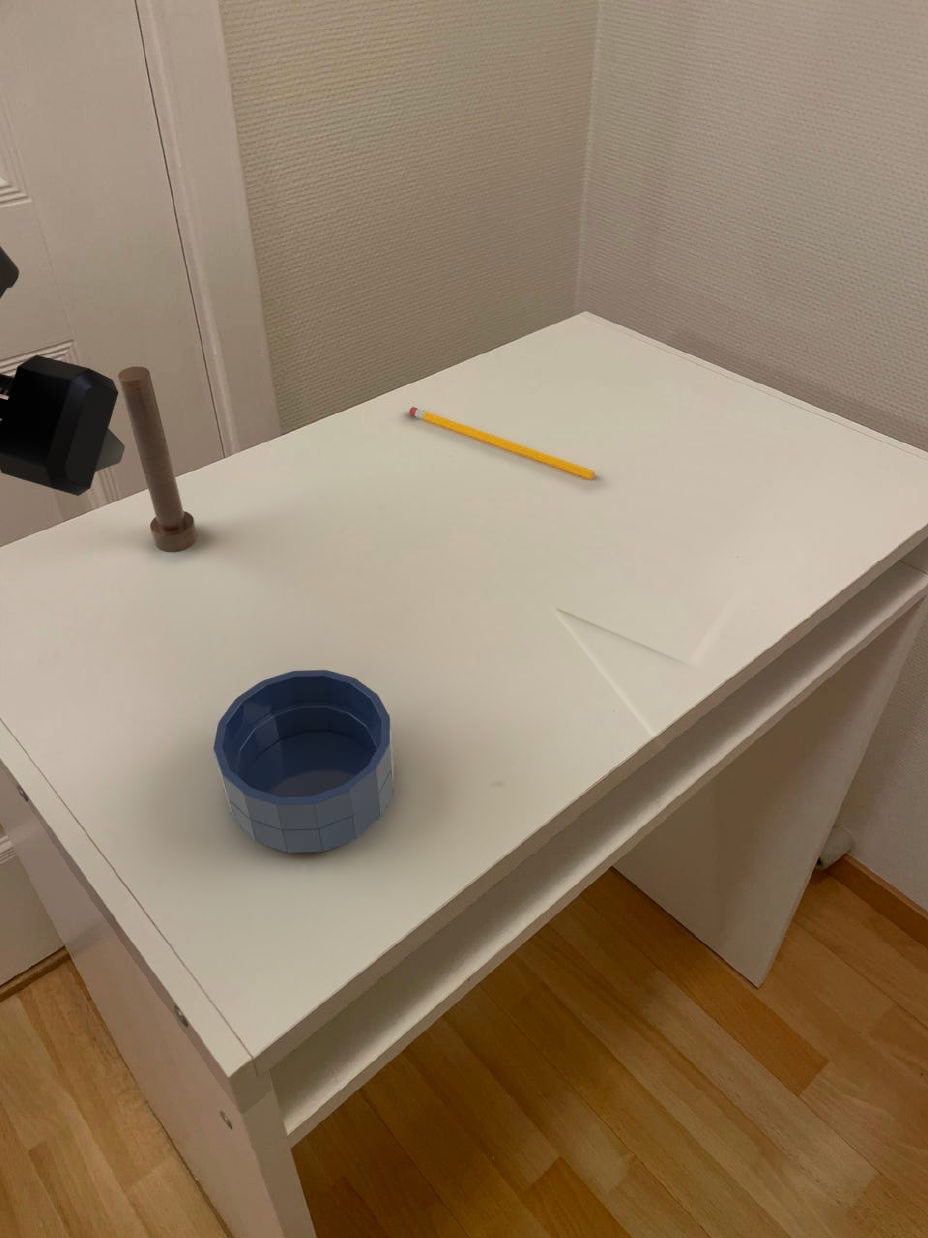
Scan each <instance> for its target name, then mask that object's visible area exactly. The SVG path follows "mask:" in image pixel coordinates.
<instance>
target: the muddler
mask: <svg viewBox="0 0 928 1238" xmlns="http://www.w3.org/2000/svg"><path fill="white" fill-rule="evenodd" d="M117 378H118V381H119V386H120V390H121V393H122V397H123V400H124V403H125V407H126V411H127V416H128V418H129V422H130V426H131V430H132V434H133V437H134V441H135V444H136V449H137V452H138V456H139V459H140V463H141V467H142V471H143V474H144V477H145V482H146V485H147V488H148V489H147V490H148V493H149V496H150V500H151V504H152V509H153V511H154V515H155V516H154V517H153V518H152V520H151V521H150V523H149V528H150V532H151V536H152V539H153V543H154V545H155V547H156V548H157V549H159V550H160V551H163V552H169V553H170V552H181V551H183V550H186V549H188V548H190V547H191V546H193V545H194V544H195V543H196V541H197V539H198V531H197V527H196V523H195V518H194V516H193V515H192V514H191V513H190V512H188V511H185V510H184V508H183V503H182V500H181V495H180V492H179V487H178V483H177V479H176V475H175V471H174V466H173V463H172V458H171V455H170V450H169V447H168V442H167V438H166V434H165V430H164V426H163V422H162V418H161V414H160V410H159V405H158V401H157V397H156V392H155V388H154V384H153V381H152V377H151V373H150V370H149V369H148V368H146V367H144V366H129V367H127V368H126V367H125V368H124V369H122V370H121V371H119V373H118V374H117Z"/></svg>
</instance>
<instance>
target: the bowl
mask: <svg viewBox="0 0 928 1238" xmlns="http://www.w3.org/2000/svg"><path fill="white" fill-rule="evenodd" d="M212 749H213V754H214V757H215V762H216V765H217V768H218V771H219V775H220V779H221V783H222V786H223V790H224V793H225V797H226V801H227V803H228V806H229V809H230V812H231V815H232V818H233V821H234V822H235V824H236V825H237V826H238V827H239V828H240V829H241V830H242V831H244V832H245V833H246V834H247V835H248V836H249V837H250V839H252V840H253V841H255V842H256V843H258V844H260V845H263V846H266V847H268V848H272V849H274V850H278V851H281V852H284V853H288V854H293V853H294V854H296V853H299V854H300V853H320V852H321V853H322V852H326V851H328V850H331V849H334V848H337V847H339V846H341V845H345V844H347V843H349V842H352V841H355V840H357V838H359V837H360V836H361V835H362V834H363V833H364V832H366V831H367V830H368V829H369V828H370V827H372V826H373V825H374V824H375V823H376V822H378V820H380V818H381V817H382V815H383V813H384V811H385V809H386V808H387V805H388V803H389V801H390V800H391V798H392V795H394V794H393V793H394V785H395V784H394V783H395V781H394V775H395V774H394V773H395V772H394V771H395V766H394V765H395V764H394V752H393V751H394V750H393V737H392V723H391V717H390V714H389V713H388V711H387V709H386V707H385V705H384V703H383V702H382V700H381V697H380V696H379V694H378V693H377V692H375V691H374V690H372V689H371V688H370V687H368V686H367V685H366V684H364V683H363V682H362V681H360V680H359V679H357V678H355V677H353V676H349V675H346V674H343V673H339V672H336V671H331V670H328V669H315V670H314V669H310V670H307V669H306V670H305V669H304V670H291V671H287V672H285V673H282V674H279V675H276V676H272V677H269V678H266V679H263V680H261V681H259V682H257V683H256V684H255V685H253V686H252V687H250V688H249V689H247V690H245V692H242V694H240V695H238V696H237V697H236V698H235V699H234V700H233V701H232V703H231V704H230V705H229V706H228V709H227V710H226V711H225V712H224V714H223V716H222V717H221V718H220V719H219V721H218V723H217V728H216V733H215V737H214V743H213V748H212Z"/></svg>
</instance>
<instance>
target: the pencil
mask: <svg viewBox="0 0 928 1238" xmlns="http://www.w3.org/2000/svg"><path fill="white" fill-rule="evenodd" d="M408 411H409V412H408V414H409V415H410V416H411V417H414V418H417V419H419V420H423V421H425V422H427V423H431V424H433V425H436V426H439V427H442V428H445V429H447V430H450V431H453V432H456V433H459V434H461V435H464V436H467V437H469V438H473V439H475V440H478V441H481V442H484V443H487V444H489V445H492V446H495V447H497V448H500V449H504V450H505V451H509V452H511V453H514V454H517V455H520V456H523V457H526V458H528V459H531V460H533V461H535V462H540V463H542V464H545V465H548V466H550V467H552V468H556V469H559V470H562V471H564V472H567V473H570V474H573V475H575V476H578V477H581V478H583V479H587V480H590V481H592V479H594V477H595V474H596V473H595V470H592V469H589V468H586V467H584V466H581V465H578V464H575V463H572V462H570V461H566V460H564V459H561V458H558V457H555V456H553V455H550V454H548V453H544V452H542V451H539V450H536V449H533V448H530V447H527V446H525V445H522V444H519V443H516V442H513V441H510V440H507V439H505V438H503V437H499V436H496V435H494V434H490V433H488V432H485V431H483V430H479V429H476V428H474V427H471V426H468V425H465V424H463V423H460V422H457V421H454V420H451V419H449V418H445V417H443V416H441V415H436V414H434V413H432V412H428V411H426V410H423V409H421V408H418V407H415V406H412V407H411V408H409V410H408Z"/></svg>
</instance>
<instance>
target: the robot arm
mask: <svg viewBox="0 0 928 1238" xmlns="http://www.w3.org/2000/svg"><path fill="white" fill-rule="evenodd" d="M19 276H20V270H19V267H18V266H17V265H16V264H15V262H14V261H13V260H12V259H11V257H10V256H9V255H8V253H7V252H6V251H5V250H4V249H3V248H2V246H1V245H0V299H2V297H3V296H4V295H5V292H6V291H7V290H8V289H12V288H13V287H14V285H16V283H17V281H18V279H19ZM119 393H120V392H119V390H118V388H117V385H116V383H115V381H114V379H112V378H110V377H108V376H106V375H104V374H102V373H100V372H98V371H96V370H94V369H92V368H90V367H86V366H82V365H78V364H74V363H71V362H66V361H62V360H59V359H55V358H52V357H51V358H50V357H47V356H44V355H39V354H34V355H33V356H31V357H30V358H28V359H26V360H25V361H23V362H22V363H20V364H19V365H17V367H16V371H15V373H14V376H11V375H7V374H3V373H0V395H1V396H5V397H7V399H6V398H2V397H0V473H1V474H4V475H7V476H11V477H13V478H15V479H21V480H23V481H27V482H30V483H33V484H37V485H40V486H43V487H46V488H49V489H53V490H57V491H59V492H63V493H67V494H70V495H73V496H77V497H79V496H81V495H83V494H84V493H85V492H87V491H89V490H90V489H91V488H92V484H93V481H94V477H95V474H96V473H97V472H100V471H102V470H105V469H107V468H110V467H112V466H116V465H118V464H120V463H121V462H122V458H123V455H124V452H125V447H126V446H125V444H124V442H122V440H120V438H118V437H117V436H116V435H115V433H113V431H112V430H111V429H110V424H111V420H112V417H113V414H114V410H115V406H116V404H117V401H118V397H119Z"/></svg>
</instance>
